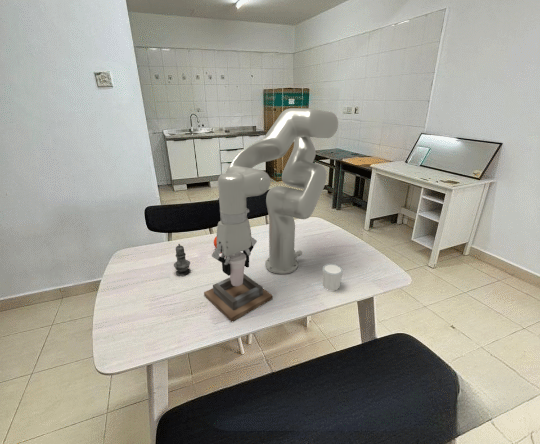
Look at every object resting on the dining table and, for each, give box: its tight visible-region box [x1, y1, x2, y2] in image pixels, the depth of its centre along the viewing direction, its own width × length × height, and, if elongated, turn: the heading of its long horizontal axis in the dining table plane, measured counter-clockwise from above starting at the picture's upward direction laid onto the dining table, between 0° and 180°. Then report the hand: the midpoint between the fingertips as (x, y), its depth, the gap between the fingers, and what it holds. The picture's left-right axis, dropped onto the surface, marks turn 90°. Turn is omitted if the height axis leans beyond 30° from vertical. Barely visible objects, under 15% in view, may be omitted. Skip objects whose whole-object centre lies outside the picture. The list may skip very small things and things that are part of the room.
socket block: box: [203, 273, 274, 323], centre depth 93 cm, size 16×16×4 cm
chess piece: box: [173, 243, 191, 277], centre depth 106 cm, size 6×6×12 cm
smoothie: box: [225, 251, 246, 286], centre depth 89 cm, size 6×6×14 cm
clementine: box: [213, 235, 217, 249], centre depth 123 cm, size 8×7×7 cm
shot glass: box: [322, 263, 344, 291], centre depth 99 cm, size 7×7×7 cm
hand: (236, 269), depth 90 cm, fingers closed on smoothie, 6 cm apart
